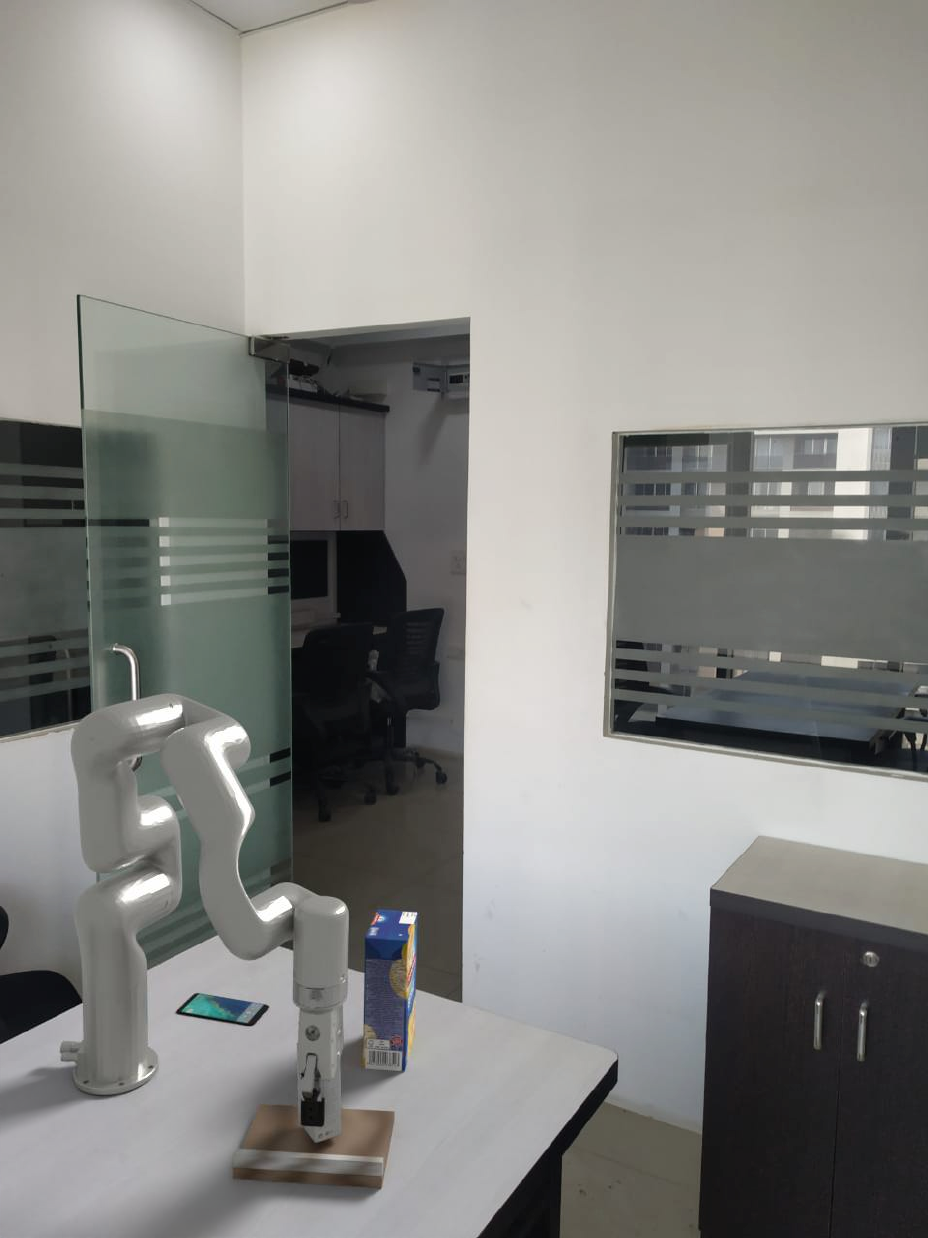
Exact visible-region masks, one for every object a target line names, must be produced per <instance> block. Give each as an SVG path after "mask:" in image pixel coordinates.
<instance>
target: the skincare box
mask: <svg viewBox="0 0 928 1238" xmlns="http://www.w3.org/2000/svg"><path fill="white" fill-rule="evenodd" d="M297 1059H298V1041H297V1042H296V1060H297ZM296 1065H297V1066H296V1068H297V1069H296V1070H297V1071H296V1073H297V1106H298V1120H299V1122H300V1123H301V1095H302V1085H303V1079H302V1080H301V1079H300V1078H299V1076H298V1064H296ZM315 1076H321V1075H320V1072H319V1070H316V1073H315ZM341 1077H342V1075H341V1057H340V1053H339V1052H338V1055H337V1070H336V1073H335V1076H334V1078H333V1079H332V1080H331V1081H328V1080H324V1088H323V1097H324V1098H325V1121H324V1125H323V1127H314V1126H303V1127H304V1128H305V1130H306V1131H307V1133H308V1134H309V1135H310V1137H311V1138H312V1139H313V1141H314V1142H315V1143H316V1142H320V1141H324V1140H326V1139H329V1138H332V1137H335V1136H337V1135H340V1133H341V1108H342V1106H341V1105H342V1101H341V1100H342V1097H341V1096H342V1095H341V1093H342V1090H341V1089H342V1087H341V1086H342V1085H341V1084H342V1083H341V1082H342V1081H341V1080H342V1079H341ZM318 1087H319V1081H314V1088H315V1089H317V1090H318Z"/></svg>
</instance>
